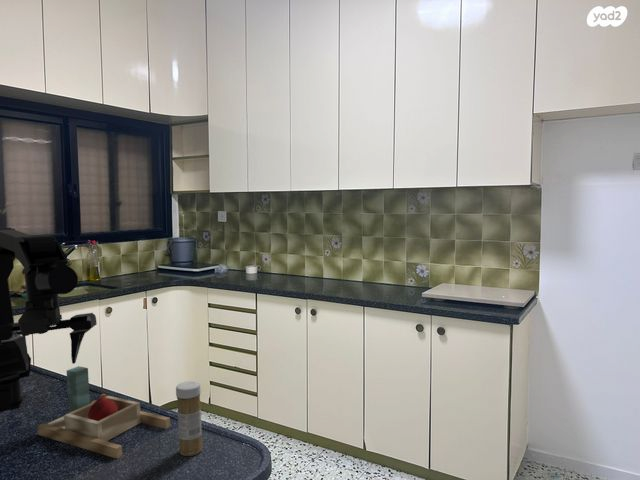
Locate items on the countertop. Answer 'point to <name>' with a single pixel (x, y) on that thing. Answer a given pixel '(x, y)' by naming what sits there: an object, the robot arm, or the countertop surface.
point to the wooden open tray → (81, 406)
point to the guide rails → (95, 443)
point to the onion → (102, 408)
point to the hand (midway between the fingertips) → (50, 366)
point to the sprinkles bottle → (189, 418)
